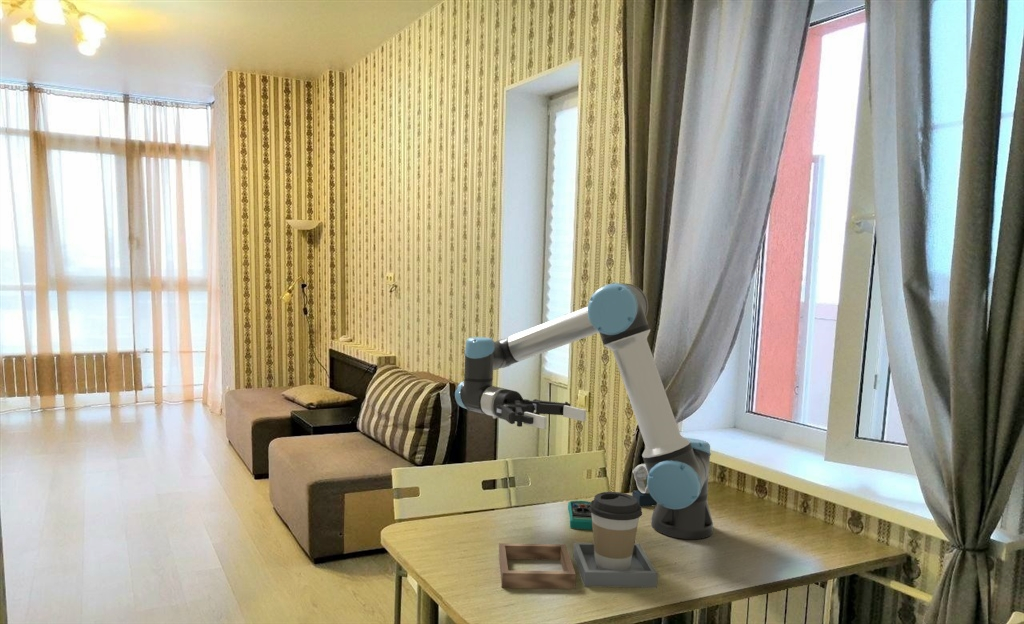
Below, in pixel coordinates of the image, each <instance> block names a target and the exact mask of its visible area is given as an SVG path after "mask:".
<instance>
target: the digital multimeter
mask: <svg viewBox="0 0 1024 624" xmlns="http://www.w3.org/2000/svg"><path fill="white" fill-rule="evenodd" d="M590 503H591V501H589V500H587V501H586V500H570V501H569V502H568V503H567V511H568V515H569V528H570V529H575V530H576V529H577V530H589V531H593V527H592V514H591V512H590V510H589V507H590Z"/></svg>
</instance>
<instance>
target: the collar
mask: <svg viewBox="0 0 1024 624" xmlns="http://www.w3.org/2000/svg"><path fill="white" fill-rule="evenodd" d="M498 560H499V561H498V562H499V563H498V564H499V571H500V580H501V582H500V583H501V588H505V589H506V588H507V589H508V588H509V589H514V588H515V589H517V588H518V589H524V588H525V589H576V575H577V574H576V571H575V568H574V565H573V563H572V559H571V557H570V554H569V551H568V548H567V546H566V544H564V543H561V544H558V543H510V542H509V543H506V542H505V543H504V542H503V543H501V542H500V543H499V544H498ZM508 560H552V561H553V560H557V561H560V564H561V567H562V570H509V568H508Z"/></svg>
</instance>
